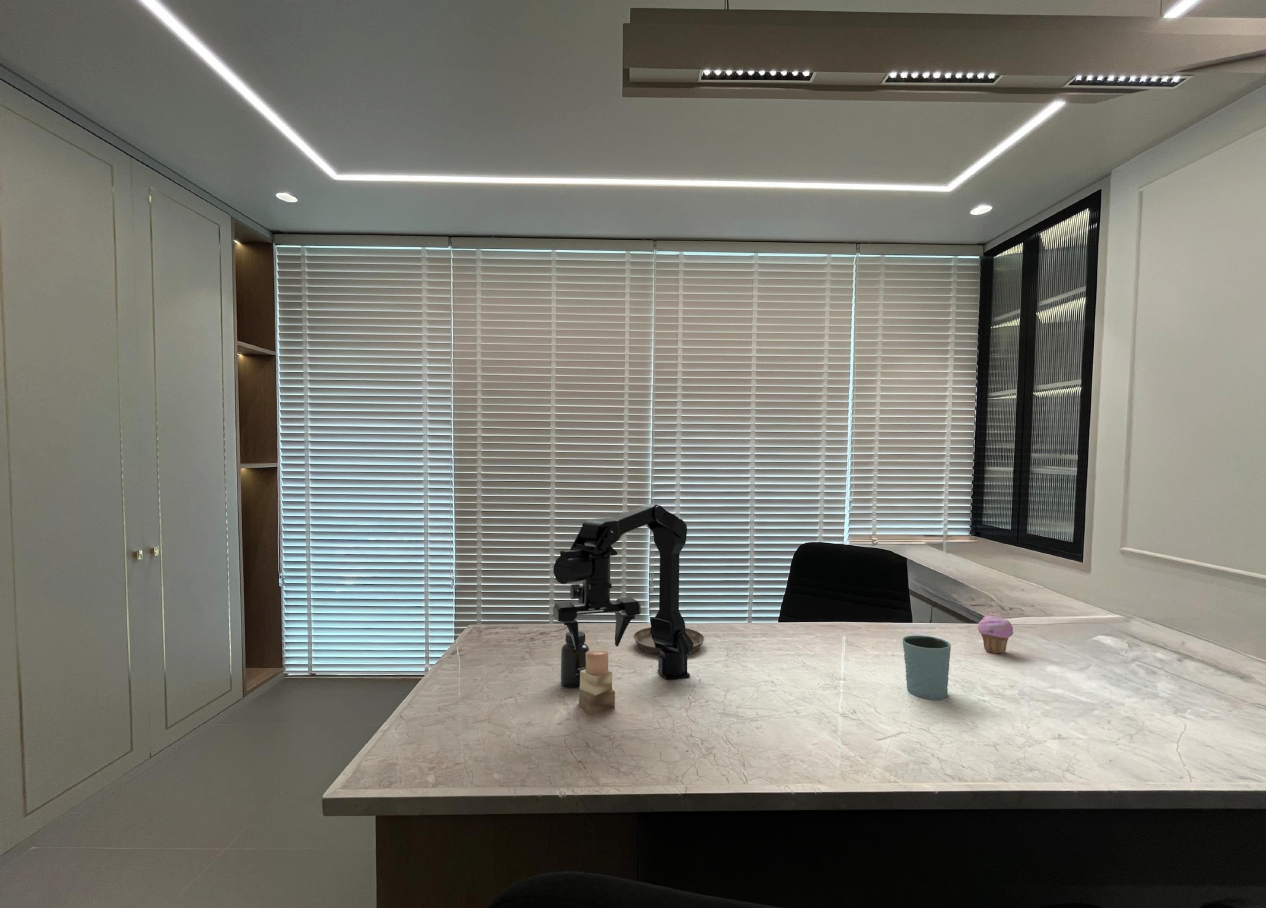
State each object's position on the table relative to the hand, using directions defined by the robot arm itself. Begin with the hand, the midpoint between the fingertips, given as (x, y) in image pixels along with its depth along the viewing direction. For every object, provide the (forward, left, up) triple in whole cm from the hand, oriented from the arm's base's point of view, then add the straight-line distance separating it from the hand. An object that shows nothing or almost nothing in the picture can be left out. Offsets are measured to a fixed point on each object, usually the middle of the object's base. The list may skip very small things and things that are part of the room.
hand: (596, 648), depth 130 cm
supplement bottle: (+1, -15, -13) cm, 20 cm away
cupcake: (-118, +3, -13) cm, 119 cm away
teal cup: (-75, +19, -13) cm, 79 cm away
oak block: (0, 0, -9) cm, 9 cm away
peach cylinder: (0, 0, -5) cm, 5 cm away
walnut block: (0, 0, -13) cm, 13 cm away
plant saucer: (-32, -33, -13) cm, 48 cm away
